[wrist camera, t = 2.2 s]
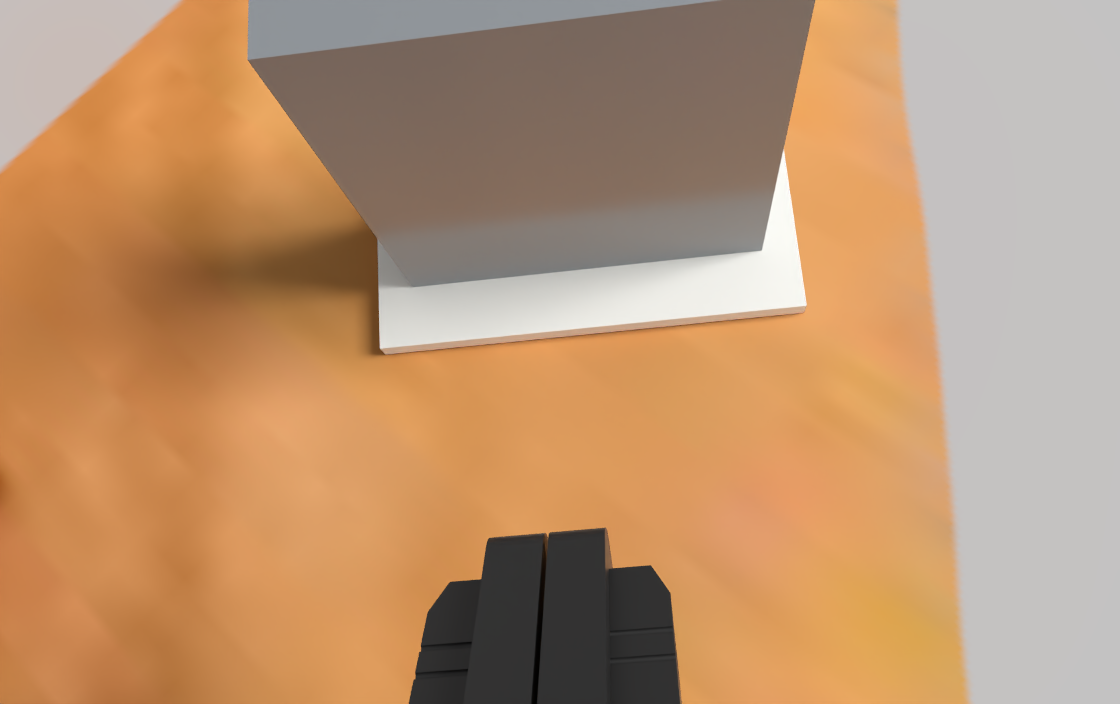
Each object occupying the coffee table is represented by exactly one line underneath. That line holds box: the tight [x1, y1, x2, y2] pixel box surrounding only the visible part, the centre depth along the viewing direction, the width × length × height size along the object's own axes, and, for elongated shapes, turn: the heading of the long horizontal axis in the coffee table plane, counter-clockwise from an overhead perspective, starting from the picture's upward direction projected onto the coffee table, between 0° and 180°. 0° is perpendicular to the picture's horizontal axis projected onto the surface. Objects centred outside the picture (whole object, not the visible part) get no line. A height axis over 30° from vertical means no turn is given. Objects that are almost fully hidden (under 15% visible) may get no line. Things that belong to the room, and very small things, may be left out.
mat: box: [377, 149, 807, 354], centre depth 31 cm, size 12×16×1 cm
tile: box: [248, 0, 815, 287], centre depth 24 cm, size 10×3×12 cm, turn 94°
